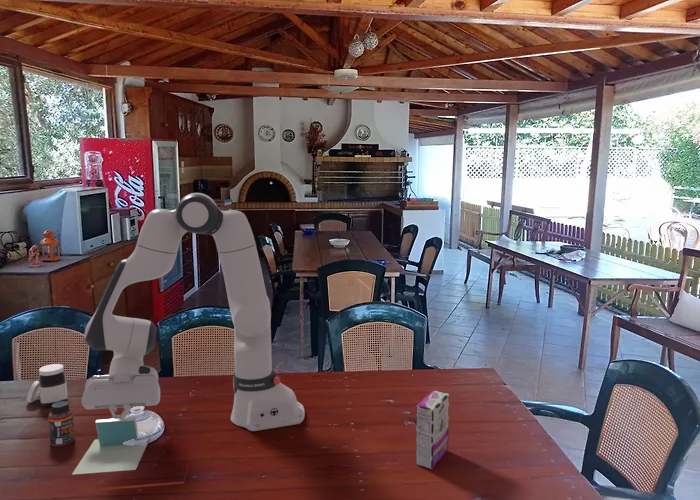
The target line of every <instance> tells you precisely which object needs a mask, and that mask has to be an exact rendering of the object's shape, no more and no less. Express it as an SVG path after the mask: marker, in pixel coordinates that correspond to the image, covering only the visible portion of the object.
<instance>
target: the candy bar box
mask: <svg viewBox="0 0 700 500" xmlns="http://www.w3.org/2000/svg"><path fill="white" fill-rule="evenodd" d="M415 409H416V410H415V411H416V412H415V413H416V416H415V419H416V420H415V421H416V422H415V423H416V424H415V426H416V427H415V429H416V432H415V436H416V437H415V439H416V440H415V444H416V447H415V464H416V466H419V467H422V468H426V469H429V470H434V468H435V467H436V466H437V464H439V462H440V461H441V459H442V458H443V457H444V456H445V454H446V453H447V452H449V429H450V428H449V426H450V425H449V423H450V422H449V420H450V417H449V416H450V393H448V392H447V393H446V392H443V391H438V390H436V389H435V390H432V391H430V393H428V394H427V395H426V396H425V398H423V399H422V400H421V401H420V402H419V403H418V404H416V408H415Z"/></svg>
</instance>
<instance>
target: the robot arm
mask: <svg viewBox="0 0 700 500" xmlns="http://www.w3.org/2000/svg"><path fill="white" fill-rule="evenodd" d="M186 233H191V234H195V235H196V234H201V235H211V236H212V237H213V239H214V242H215V246H216V250H217V254H218V259H219V262H220V267H221V271H222V274H223V279H224V284H225V290H226V294H227V295H226V296H227V300H228V306H229V310H230V315H231V316H230V317H231V321H232V324H233V327H234V328H233V330H234V331H233V338H234V339H233V343H234V344H233V346H234V347H233V356H234V358H233V359H234V372H233V377H232V386H233V388H232V389H233V393H234V395H233V396H234V397H233V406H232V411H231V415H230V421H231V422H232V423H233V424H235V425H236V426H238V427H242V428H245V429H246V430H248V431H250V432H258V431H262V430H270V429H275V428H283V427H287V426H288V427H289V426H293V425H300V424H301V423H302V422H303V421H304V420H305V416H306V415H305V414H306V413H305V412H306V411H305V408H304V405H303V404H302V403H300V402H299V401H298V399H297V396H296V394H295V392H294V391H293V389H291V388H290V387H288V386H286V385H285V384H283V383H281V378H280V376H279V373H278V370H277V369H275V370H273V367H272V365H273V364H272V363H273V362H272V329H271V327H272V325H271V324H272V323H271V319H272V318H271V317H272V312H271V301H270V298H269V296H268V295H267V289H266V285H265V281H264V275H263V271H262V269H263V268H262V266H261V261H260V257H259V253H258V250H257V249H258V248H257V244H256V240H255V236H254V233H253V230H252V227H251V225H250V223H249V221H248V218H247V216H246V214H245V213H244V212H242V211H240V210H235V209H229V210H221V209H220V207H218V205H217V203H216V201H215V200H214V199H213V198H212V197H210V195H207V194H205V193H202V192H191V193H189V194H187V195H185V196H184V197H182V199H180V201H179V202H178V203H177V206H176V207H175V209H166V208H155V209H153V210H151V211H150V212H148V214H147V215H146V217H145V219H144V221H143V224H142V226H141V228H140V232H139V235H138V237H137V241H136V245H135V248H134V250H133V252H132V253H131V254H130V256H128V257H127V258H124V259H121V260H120V261H119V262H118V264H117V265H116V267H115V268H114V271H113V273H112V275H111V277H110V278H109V281H108V283H107V284H106V287H105V289H104V292H103V293H102V295H101V298H100V300H99V303H98V305H97V307H96V309H95V311H94V313H93V315H92V316H91V318H90V319H89V321H88V323H87V324H86V327H85V330H84V334H83V337H84V342H85V343H86V344H87V345H88V347H90V348H91V349H92V350H93V351H112V352H113V357H112V360H111V362H110V366H109V371H108V374H104V375H92V377H89V378H87V380H86V381H85V384H84V391H83V394H82V397H81V403H80V404H81V405H82V407H83V408H84V409H86V410H100V409H108V410H109V411H110V414H111V419H119V418H127V415H128V414H129V413H130V412H131V409H132V408H134V407H151V406H157V405H158V404H159V403H160V402H161V401H160V400H161V386H160V384H159V373H158V372H157V370H156V369H155V367H152V366H148V365H145V364H144V356H147V355H148V354H149V353H150V352H152V351H153V350H155V347H156V341H157V331H158V328H157V327H156V324H155V323H154V322H153V321H152V320H148V319H144V318H137V317H127V316H121V315H115V314H113V311H114V310H115V309H114V308H115V306H116V305H117V302H118V300H119V298H120V296H121V294H122V291H123V290H124V289H125V288H127V287H128V286H130V285H132V284H135V283H140V282H145V281H151V280H156V279H160V278H162V277H164V276H166V275H168V273H170V272H171V270H172V269H173V267H174V265H175V262H176V258H177V256H178V252H179V248H180V243H181V240H182V238H183V237H184V235H185V234H186ZM118 408H123V411H122V412H121V414H116V413H115V412H117V410H118Z"/></svg>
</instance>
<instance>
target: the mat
mask: <svg viewBox="0 0 700 500" xmlns="http://www.w3.org/2000/svg"><path fill="white" fill-rule="evenodd" d="M148 444H149V442H148V443H146V444H140V445H134V446H126V445H111V446H100V445H99V440H98V438H96V439H94V440H93V441H92V443H91V445H90V447H89V448H88V449H87V451H86V452H85V453H84V454H83V457H82V458H81V459H80V461H79V462H78V464H77V466H76V467H75V468H74V470H73V472H72V474H71V475H74V476H75V475H83V474H84V475H85V474H96V473H97V474H98V473H113V472H124V471H125V472H126V471H136V469H137V468H138V465H139V463H140V461H141V458H142V457H143V454H144V453H145V451H146V448H147V446H148Z"/></svg>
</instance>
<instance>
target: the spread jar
mask: <svg viewBox="0 0 700 500" xmlns="http://www.w3.org/2000/svg"><path fill="white" fill-rule="evenodd" d="M38 372H39V373H38V374H39V375H38V380H35V381H34V382H33V383H32V384H31V386H30V388H29V390H28V392H27V395H26V402H27V403H30V404H31V403H34V402H35V401H36V399H37V398H38V395H39V401H40V404H41V406H44V407H52V405H53V404H54V403H56V402H61V401H66V402H67V400H68V389H67V386H68V385H67V377H66V374H65V371H64V364H61V363H52V364H47V365H44V366H42V367H40V368H39V369H38Z"/></svg>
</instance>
